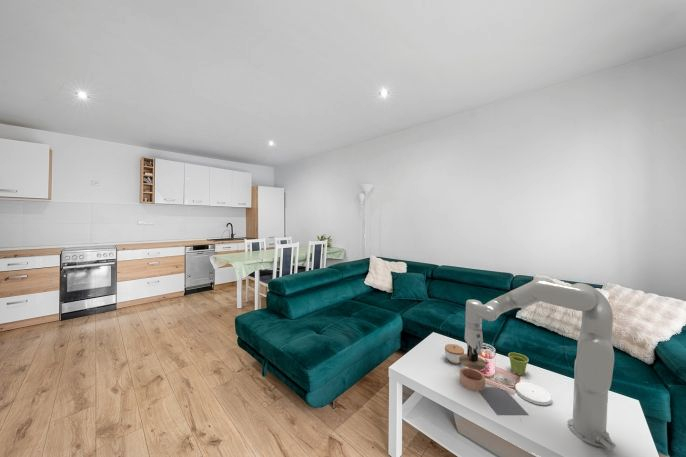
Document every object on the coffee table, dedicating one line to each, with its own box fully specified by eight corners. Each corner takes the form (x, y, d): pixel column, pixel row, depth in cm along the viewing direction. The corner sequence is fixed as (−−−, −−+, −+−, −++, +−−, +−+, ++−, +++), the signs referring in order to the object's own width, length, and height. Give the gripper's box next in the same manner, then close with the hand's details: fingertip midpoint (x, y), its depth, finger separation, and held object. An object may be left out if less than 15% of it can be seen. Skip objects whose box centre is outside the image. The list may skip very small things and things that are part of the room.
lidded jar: (440, 358, 153) (441, 343, 152) (453, 354, 157) (453, 339, 157) (455, 367, 143) (455, 352, 143) (468, 363, 148) (468, 348, 147)
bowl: (489, 391, 123) (489, 381, 123) (466, 391, 123) (466, 381, 123) (477, 376, 135) (477, 367, 135) (456, 376, 135) (456, 367, 135)
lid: (491, 369, 123) (491, 355, 122) (466, 369, 123) (466, 355, 122) (477, 355, 135) (478, 342, 135) (454, 355, 135) (455, 342, 135)
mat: (529, 416, 108) (529, 415, 108) (497, 415, 108) (497, 415, 108) (502, 387, 126) (502, 387, 126) (475, 387, 126) (475, 387, 126)
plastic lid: (513, 383, 130) (514, 378, 130) (548, 392, 123) (548, 387, 123) (516, 400, 118) (516, 395, 118) (554, 411, 111) (555, 406, 111)
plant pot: (532, 377, 134) (533, 361, 134) (515, 377, 135) (515, 361, 134) (520, 367, 144) (521, 352, 143) (504, 367, 144) (504, 352, 144)
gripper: (490, 331, 120) (488, 368, 120) (472, 317, 136) (471, 350, 137) (474, 331, 120) (473, 368, 120) (458, 317, 136) (457, 350, 137)
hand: (472, 358), depth 129 cm, fingers closed on lid, 3 cm apart
